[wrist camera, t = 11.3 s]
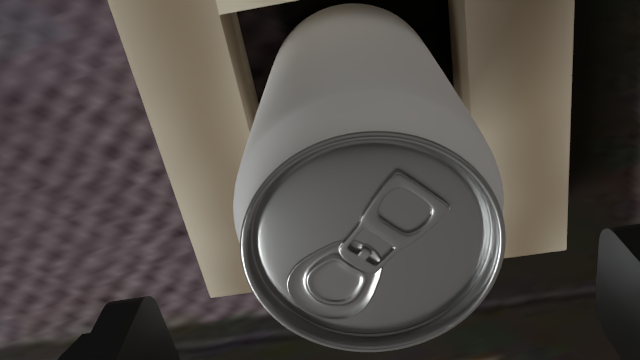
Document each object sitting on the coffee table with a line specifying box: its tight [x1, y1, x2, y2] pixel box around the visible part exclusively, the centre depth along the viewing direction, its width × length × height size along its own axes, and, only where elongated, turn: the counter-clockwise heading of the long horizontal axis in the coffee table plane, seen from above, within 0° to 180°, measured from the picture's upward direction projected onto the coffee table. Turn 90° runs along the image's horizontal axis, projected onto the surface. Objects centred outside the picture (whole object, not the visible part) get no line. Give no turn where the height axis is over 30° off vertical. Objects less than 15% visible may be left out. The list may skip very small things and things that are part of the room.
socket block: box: [108, 0, 575, 298], centre depth 21 cm, size 15×15×3 cm
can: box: [233, 3, 506, 352], centre depth 17 cm, size 6×6×12 cm
